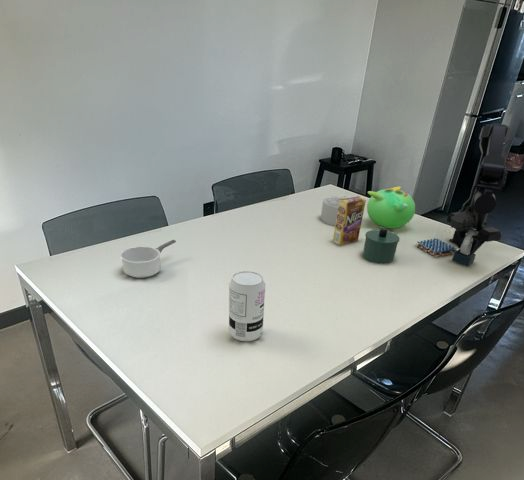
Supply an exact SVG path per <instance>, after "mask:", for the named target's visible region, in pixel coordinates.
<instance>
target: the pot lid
mask: <svg viewBox="0 0 524 480" xmlns="http://www.w3.org/2000/svg"><path fill="white" fill-rule="evenodd" d="M364 235H365V239H366V238H367V239H369V240H370V241H373V242H376V243H381V244H394V243H397V242H398V243H399V242H400V239H401V238H400V236H399V235H398V234H396V233H394V232H392V231H389V228H387V227H383V226H381V227H380V228H379V229H372V230H368V231H366V232H365V234H364ZM398 243H397V244H398Z"/></svg>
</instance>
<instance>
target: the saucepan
mask: <svg viewBox="0 0 524 480" xmlns="http://www.w3.org/2000/svg"><path fill="white" fill-rule="evenodd" d="M175 243H177V241H176V240H175V239H172V240H170V241H167V242H165V243H163V244H161V245H159V246H158V247H152V246H146V245H145V246H143V245H141V246H133V247H128V248H126V249H123V250H122V251H121V252H120V253H119V257H120V259H121V262H122V270H123V271H122V272H123V273H124V274H125V275H127V276H130V277H132V278H136V279H137V278H138V279H145V278H150V277H153V276H154V275H156V274H157V273H159V272H160V271H161V261H160V256H161V254H162V252H163V250H164V249H165V248H167V247H169V246H171V245H173V244H175Z"/></svg>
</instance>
